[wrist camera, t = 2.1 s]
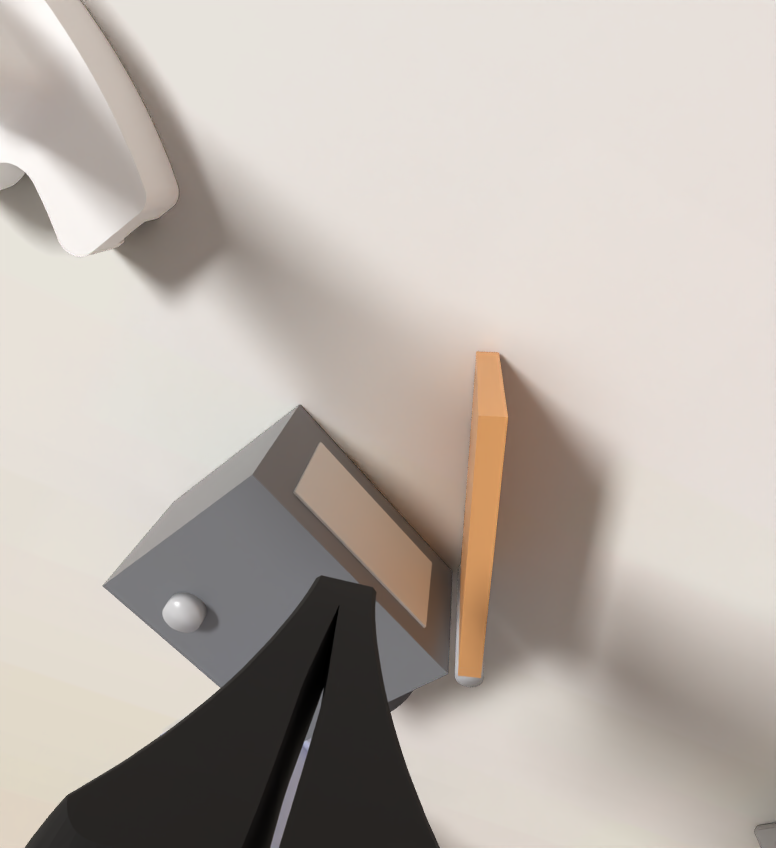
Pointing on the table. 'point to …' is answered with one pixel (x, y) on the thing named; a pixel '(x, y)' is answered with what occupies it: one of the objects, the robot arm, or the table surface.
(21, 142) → the joystick
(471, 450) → the side door
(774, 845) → the vintage mobile phone
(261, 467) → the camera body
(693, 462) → the table surface
